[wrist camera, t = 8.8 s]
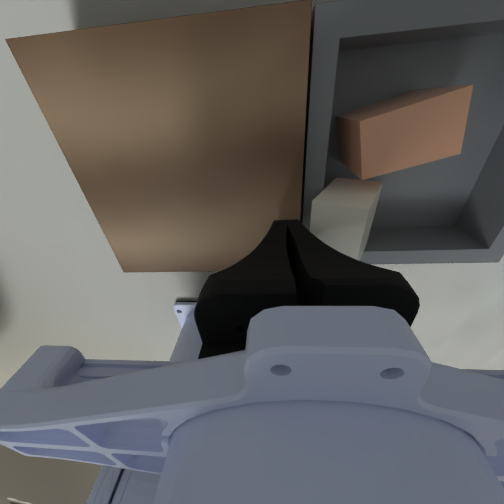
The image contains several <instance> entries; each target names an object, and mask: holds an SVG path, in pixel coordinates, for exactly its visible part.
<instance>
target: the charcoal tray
mask: <svg viewBox="0 0 504 504" xmlns="http://www.w3.org/2000/svg"><path fill="white" fill-rule="evenodd" d="M463 85H473V89H472V95H471V100H470V106H469V111H468V117H467V122H466V127H465V133H464V138H463V144H462V149H461V154H458V155H454V156H450V157H447V158H443V159H439V160H435V161H432V162H428V163H424V164H420V165H417V166H413V167H409V168H406V169H402V170H398V171H394V172H391V173H387V174H383V175H379V176H376V177H372V178H368V179H364V180H367V181H378V182H383V184H382V188H381V192H380V195H379V199H378V203H377V207H376V210H375V214H374V218H373V222H372V226H371V229H370V233H369V237H368V241H367V244H366V247H365V249H364V251H363V254H362V256H361V259H360V261H361V262H364V263H367V264H420V263H486V262H499V261H500V259H501V258H502V256H503V255H504V0H340V1H332V2H325V3H317V4H315V6H314V8H313V10H312V12H311V28H310V47H309V65H308V84H307V102H306V121H305V139H304V158H303V176H302V195H301V213H300V222H301V223H302V224H303V225H304V226H305V227H306V228H307V229H308V230H309V231H310V220H311V209H312V200H314V199H315V198H316V197H317V196H318V195H319V194H320V193H321V192H322V191H323V190H324V189H325V188H326V187H327V186H328V185H329V184H330V183H331V182H332V181H333V180H334V179H335V178H346V179H357V180H361V179H360V178H359V177H358V176H357V175H356V174H354V173H353V172H352V171H351V170H350V169H349V168H347V167H346V166H345V165H344V164H343V163H342V162H340V155H339V144H338V133H337V122H336V116H338V115H341V114H344V113H347V112H350V111H353V110H356V109H359V108H362V107H365V106H368V105H371V104H374V103H377V102H380V101H383V100H386V99H389V98H392V97H395V96H397V95H400V94H403V93H406V92H409V91H412V90H415V89H427V88H439V87H451V86H463Z"/></svg>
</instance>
